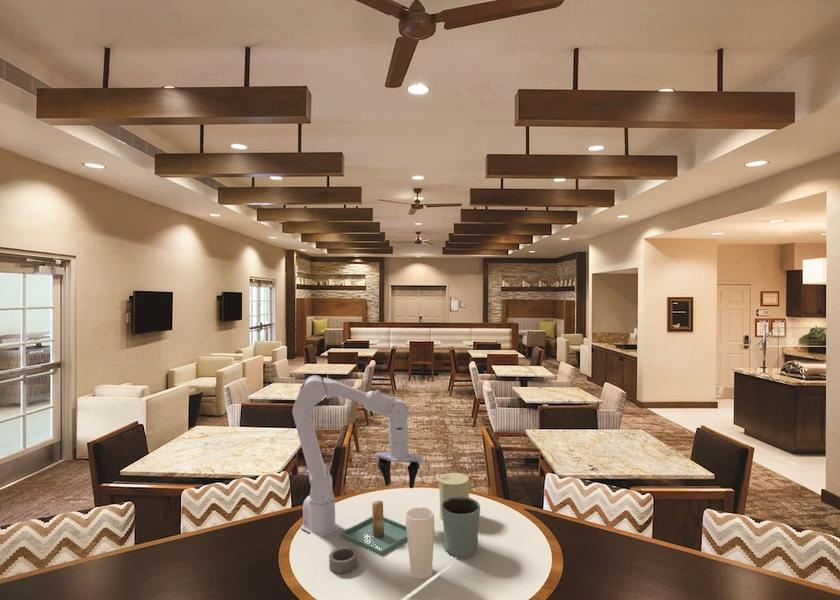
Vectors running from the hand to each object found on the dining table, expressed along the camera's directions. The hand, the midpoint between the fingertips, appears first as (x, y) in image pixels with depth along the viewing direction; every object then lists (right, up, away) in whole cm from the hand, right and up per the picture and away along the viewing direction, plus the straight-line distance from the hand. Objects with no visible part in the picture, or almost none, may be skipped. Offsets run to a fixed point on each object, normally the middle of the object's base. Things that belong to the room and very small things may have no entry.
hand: (399, 485), depth 145 cm
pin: (-6, -10, -9) cm, 15 cm away
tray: (-5, -11, -9) cm, 15 cm away
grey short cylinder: (-13, -11, -24) cm, 30 cm away
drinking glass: (+6, -11, -28) cm, 30 cm away
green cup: (+17, -11, -17) cm, 26 cm away
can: (+16, -10, +2) cm, 19 cm away
